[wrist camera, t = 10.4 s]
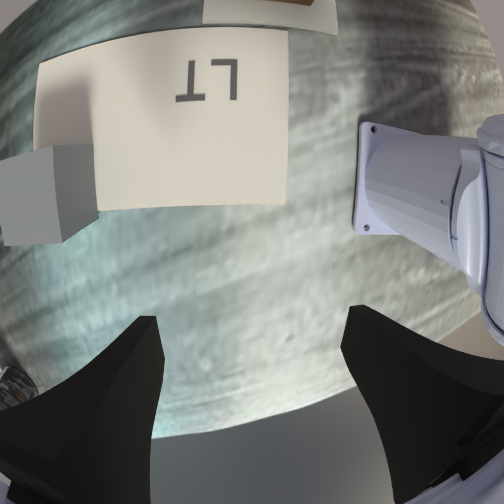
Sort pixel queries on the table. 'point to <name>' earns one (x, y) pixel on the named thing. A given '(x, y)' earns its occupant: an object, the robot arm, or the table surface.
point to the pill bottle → (15, 388)
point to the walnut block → (296, 1)
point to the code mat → (174, 116)
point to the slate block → (47, 194)
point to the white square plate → (274, 14)
